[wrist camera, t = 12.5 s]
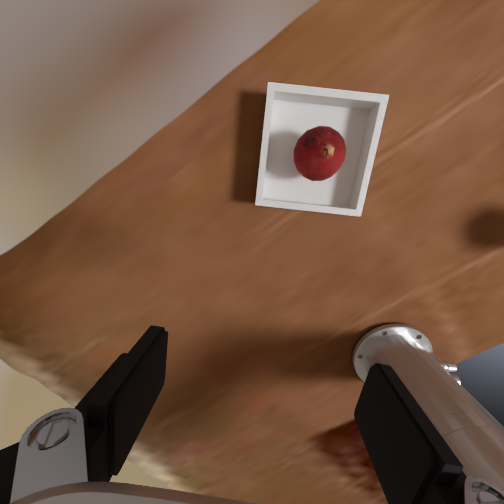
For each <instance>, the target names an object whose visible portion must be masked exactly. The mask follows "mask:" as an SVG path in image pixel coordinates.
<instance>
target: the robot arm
mask: <svg viewBox="0 0 504 504" xmlns="http://www.w3.org/2000/svg"><path fill="white" fill-rule="evenodd" d="M167 342H168V332H167V331H165V329H164V327H158V326H150V327H149V328H148V330H147V331H146V332H145V333H144V334H143V336H142V337H141V338H140V339H139V340H138V342H137V343H136V344H135V345H134V347H133V348H132V349H131V350H130V351H129V353H128V354H127V353H123V354H121V355H120V356H119V357H118V358H117V359H116V361H115V362H114V363H113V364H112V365H111V366H110V368H109V369H108V370H107V371H106V372H105V373H104V374H103V376H102V377H101V378H100V379H99V380H98V381H97V383H96V384H95V385H94V386H93V387H92V388H91V390H90V391H89V392H88V393H87V394H86V395H85V396H84V398H83V399H82V400H81V401H80V402H79V403H78V405H77V406H76V407H75V408H74V409H73V408H62V409H58V410H54V411H52V412H50V413H48V414H45V415H44V416H42V417H40V418H39V419H37V420H36V421H35V422H34V423H33V424H31V426H29V427H28V428H27V430H26V431H25V433H24V434H23V435H22V437H21V440H20V442H18V443H16V444H13V445H11V446H9V447H7V448H5V449H2V450H0V504H256V503H250V502H244V501H238V500H232V499H226V498H220V497H214V496H207V495H201V494H195V493H189V492H183V491H177V490H170V489H163V488H156V487H149V486H142V485H134V484H128V483H116V482H109V481H110V479H111V477H112V475H115V476H116V475H117V474H118V473H119V471H120V470H121V468H122V466H123V464H124V462H125V460H126V458H127V456H128V454H129V452H130V450H131V448H132V446H133V444H134V442H135V440H136V438H137V436H138V434H139V433H140V431H141V429H142V427H143V425H144V423H145V421H146V419H147V417H148V415H149V413H150V411H151V409H152V407H153V405H154V403H155V401H156V399H157V397H158V395H159V393H160V391H161V389H162V387H163V385H164V381H165V371H166V356H167ZM352 361H353V366H354V369H355V371H356V373H357V375H358V376H359V378H360V379H361V380H362V381H363V382H364V386H363V388H362V391H361V394H360V397H359V400H358V403H357V405H356V408H355V412H354V417H355V421H356V423H357V426H358V428H359V431H360V433H361V436H362V438H363V441H364V443H365V446H366V449H367V451H368V454H369V456H370V459H371V461H372V464H373V466H374V469H375V471H376V474H377V476H378V479H379V481H380V484H381V486H382V489H383V491H384V494H385V496H386V499H387V501H388V504H504V428H503V426H501V424H499V422H497V420H495V419H494V418H493V417H492V416H491V415H490V414H489V413H488V412H487V411H486V410H485V409H484V408H483V407H482V406H481V405H480V404H479V403H478V402H477V401H476V400H475V399H474V398H473V397H472V396H471V395H470V394H469V393H468V392H467V391H466V390H465V389H464V388H463V387H462V386H461V385H460V379H459V378H458V376H457V375H455V374H449V373H448V372H447V371H453V372H455V371H456V370H457V367H456V365H455V363H453V362H446V361H443V362H442V361H440V360H439V359H438V358H437V357H436V356H435V355H434V354H433V349H432V346H431V343H430V341H429V340H428V338H427V337H426V336H425V335H424V334H423V333H421V332H420V331H419V330H418V329H416V328H414V327H412V326H409V325H406V324H398V323H396V324H387V325H382V326H379V327H377V328H374V329H373V330H371V331H369V332H368V333H367V334H365V335H364V336H363V337H362V338H361V339H360V340H359V342H358V343H357V345H356V347H355V349H354V352H353V358H352Z"/></svg>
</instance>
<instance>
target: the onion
mask: <svg viewBox="0 0 504 504" xmlns="http://www.w3.org/2000/svg"><path fill="white" fill-rule="evenodd" d="M345 154H346V145H345V141H344V138H343V137H342V136H341V135H340V133H339V132H338V131H336V130H334V129H333V128H331V127H328V126H318V127H315V128H312V129H310V130H307V131H306V132H305V133H304V134H303V135H302V136H301V137H300V138H299V139H298V141H297V143H296V146H295V148H294V163H295V166H296V169H297V171H298V172H299V173H300V174H301V175H302V176H303V177H305V178H307V179H309V180H311V181H323V180H325V179H328V178H330V177H332V176H333V175H334V174H335V173H336V172H337V171H338V170H339V169H340V168H341V166H342V164H343V162H344V160H345Z"/></svg>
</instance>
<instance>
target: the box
mask: <svg viewBox="0 0 504 504" xmlns="http://www.w3.org/2000/svg"><path fill="white" fill-rule="evenodd" d="M388 98H389V95H384V94H375V93H366V92H357V91H347V90H338V89H329V88H319V87H310V86H301V85H292V84H282V83H273V82H268V88H267V97H266V107H265V116H264V126H263V135H262V145H261V154H260V164H259V173H258V183H257V192H256V201H255V205H258V206H268V207H277V208H286V209H295V210H305V211H314V212H323V213H332V214H342V215H351V216H360V217H361V214H362V209H363V205H364V201H365V197H366V192H367V188H368V184H369V180H370V175H371V171H372V167H373V162H374V158H375V154H376V150H377V145H378V141H379V137H380V133H381V128H382V124H383V120H384V115H385V111H386V107H387V103H388ZM318 126H328V127H331V128H333V129H334V130H336V131H338V132H339V133H340V135H341V136H342V137H343V138H344V141H345V145H346V154H345V160H344V162H343V164H342V166H341V168H340V169H339V170H338V171H337V172H336V173H335V174H334V175H333V176H332V177H330V178H328V179H325V180H323V181H311V180H309V179H307V178H305V177H303V176H302V175H301V174H300V173H299V172H298V171H297V169H296V166H295V163H294V148H295V146H296V143H297V141H298V139H299V138H300V137H301V136H302V135H303V134H304V133H305V132H306V131H307V130H310V129H312V128H315V127H318Z"/></svg>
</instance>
